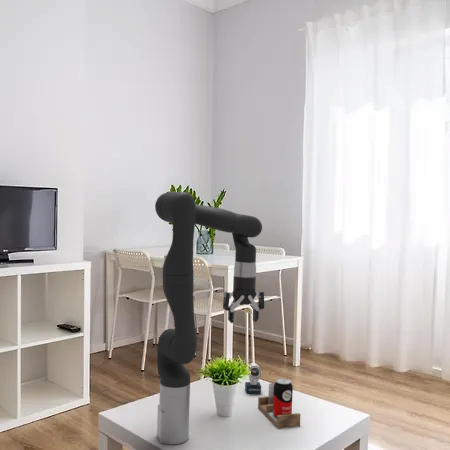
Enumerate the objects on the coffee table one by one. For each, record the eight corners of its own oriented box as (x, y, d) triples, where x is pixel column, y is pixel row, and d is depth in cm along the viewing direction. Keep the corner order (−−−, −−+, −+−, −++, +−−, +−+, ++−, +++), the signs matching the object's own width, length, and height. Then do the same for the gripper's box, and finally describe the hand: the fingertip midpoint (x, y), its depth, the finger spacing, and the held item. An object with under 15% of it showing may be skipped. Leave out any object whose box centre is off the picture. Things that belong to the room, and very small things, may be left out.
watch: (247, 396, 193) (248, 367, 193) (244, 388, 201) (245, 360, 201) (262, 395, 194) (263, 367, 193) (258, 388, 202) (259, 360, 201)
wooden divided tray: (277, 428, 166) (278, 399, 165) (257, 408, 182) (258, 381, 182) (299, 426, 168) (301, 397, 168) (278, 406, 185) (279, 380, 184)
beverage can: (270, 418, 170) (271, 382, 169) (275, 411, 176) (276, 376, 175) (289, 421, 168) (290, 385, 167) (293, 414, 174) (294, 379, 173)
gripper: (260, 273, 180) (258, 318, 181) (221, 273, 176) (220, 320, 177) (268, 276, 173) (266, 323, 174) (228, 276, 169) (226, 325, 169)
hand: (243, 321), depth 175 cm, fingers open, 8 cm apart
